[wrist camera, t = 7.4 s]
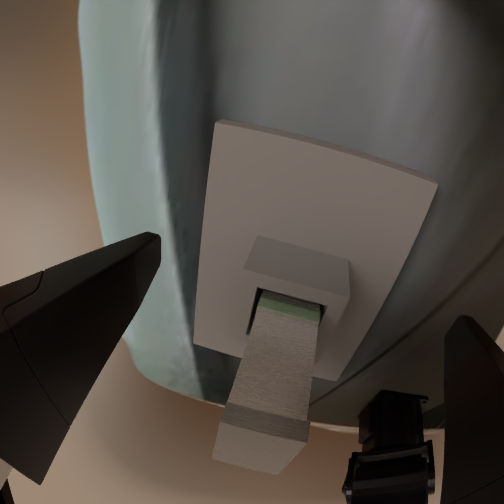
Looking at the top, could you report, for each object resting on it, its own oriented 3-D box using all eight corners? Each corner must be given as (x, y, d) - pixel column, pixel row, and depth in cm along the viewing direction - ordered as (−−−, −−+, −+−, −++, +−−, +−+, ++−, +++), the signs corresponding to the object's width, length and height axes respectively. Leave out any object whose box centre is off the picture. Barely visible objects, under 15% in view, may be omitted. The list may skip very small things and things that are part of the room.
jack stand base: (431, 176, 18) (460, 212, 13) (337, 369, 29) (333, 416, 25) (222, 118, 19) (188, 136, 15) (198, 332, 30) (177, 375, 26)
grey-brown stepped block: (324, 296, 18) (308, 443, 11) (301, 349, 21) (278, 475, 14) (265, 280, 19) (218, 421, 11) (251, 335, 22) (210, 458, 14)
